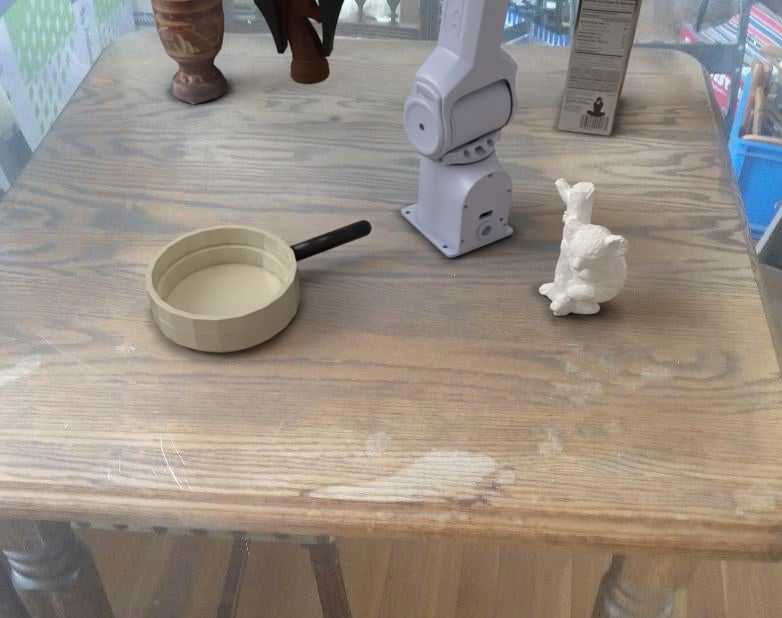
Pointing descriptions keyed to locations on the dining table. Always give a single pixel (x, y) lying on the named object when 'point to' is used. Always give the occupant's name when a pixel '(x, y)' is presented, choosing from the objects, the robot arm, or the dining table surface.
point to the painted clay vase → (192, 46)
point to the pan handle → (331, 239)
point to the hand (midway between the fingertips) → (305, 51)
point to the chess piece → (304, 41)
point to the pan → (223, 287)
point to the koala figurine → (585, 257)
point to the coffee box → (598, 64)
